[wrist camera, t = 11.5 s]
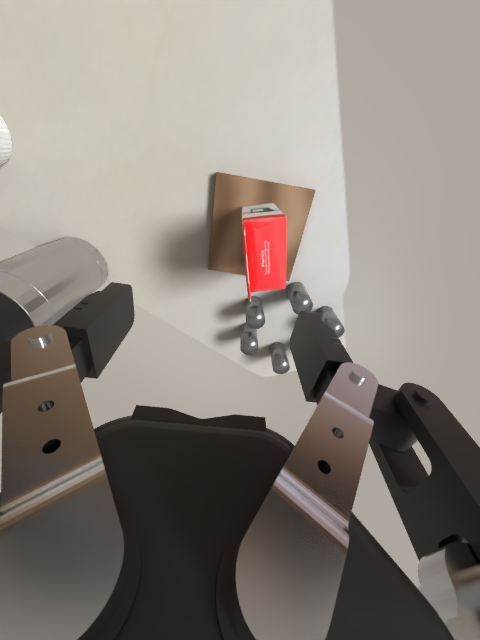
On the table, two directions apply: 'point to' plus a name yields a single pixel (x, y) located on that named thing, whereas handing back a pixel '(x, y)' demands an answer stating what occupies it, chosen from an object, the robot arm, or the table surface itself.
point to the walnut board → (229, 218)
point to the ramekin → (4, 142)
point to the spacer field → (257, 320)
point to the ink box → (264, 247)
